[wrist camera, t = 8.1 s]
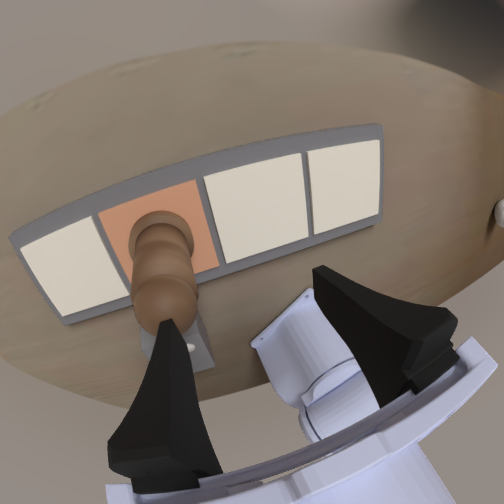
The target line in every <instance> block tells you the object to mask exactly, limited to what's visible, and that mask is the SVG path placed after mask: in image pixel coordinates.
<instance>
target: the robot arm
mask: <svg viewBox="0 0 504 504" xmlns="http://www.w3.org/2000/svg"><path fill="white" fill-rule="evenodd" d="M312 272H313V289H314V290H313V289H312V288H308V289H307V290H305V291H304V292H303V293H302V294H301V295H300V296H299V297H298V298H297V299H296V300H295V301H294V302H293V303H292V304H291V305H290V306H289V307H288V308H287V309H286V310H285V311H284V312H283V313H282V314H281V315H280V316H278V317H277V318H276V319H275V320H274V321H273V322H272V323H271V324H270V325H269V326H268V327H267V328H266V329H264V330H263V331H262V332H261V333H260V334H259V335H258V336H257V337H256V338H255V339H253V340H252V341H251V342H250V345H251V347H253V348H256V350H257V352H258V355H259V357H260V359H261V362H262V364H263V366H264V369H265V371H266V373H267V375H268V378H269V380H270V382H271V384H272V386H273V388H274V390H275V391H276V393H277V394H278V395H279V397H280V398H281V399H282V400H283V401H284V402H285V403H287V404H288V405H290V406H292V407H294V408H298V409H300V410H299V423H300V426H301V429H302V431H303V433H304V434H305V437H306V438H307V440H308V441H309V442H310V444H311V445H308V446H306V447H304V448H301V449H299V450H296V451H294V452H291V453H288V454H286V455H283V456H280V457H278V458H275V459H272V460H269V461H266V462H263V463H260V464H256V465H253V466H250V467H246V468H243V469H239V470H236V471H232V472H228V473H223V471H222V469H221V466H220V464H219V462H218V459H217V457H216V455H215V452H214V449H213V447H212V444H211V442H210V439H209V436H208V433H207V430H206V427H205V424H204V421H203V418H202V415H201V411H200V408H199V404H198V399H197V393H196V387H195V381H194V375H193V368H192V362H191V358H190V354H189V351H188V347H187V344H186V342H185V340H184V339H183V337H182V335H181V333H180V332H179V330H178V328H177V326H176V325H175V323H174V321H173V319H172V318H171V319H168V320H165V321H161V322H160V323H159V327H158V332H157V336H156V340H155V344H154V348H153V351H152V355H151V358H150V361H149V364H148V367H147V370H146V373H145V376H144V379H143V381H142V384H141V386H140V389H139V391H138V393H137V395H136V397H135V399H134V401H133V403H132V405H131V407H130V409H129V411H128V412H127V414H126V416H125V417H124V419H123V421H122V422H121V424H120V426H119V427H118V428H117V430H116V431H115V432H114V434H113V435H112V436H111V438H110V439H109V440H108V446H107V450H108V462H109V468H110V469H111V470H112V471H114V472H116V473H118V474H120V475H123V476H125V477H128V478H131V482H132V484H126V483H124V484H123V483H120V484H106V485H105V488H106V495H107V501H108V504H456V503H455V501H454V499H453V498H452V496H451V495H450V493H449V492H448V490H447V488H446V487H445V485H444V484H443V482H442V480H441V479H440V477H439V476H438V474H437V473H436V471H435V470H434V468H433V467H432V465H431V464H430V462H429V460H428V459H427V457H426V456H425V454H424V453H423V451H422V450H421V448H420V447H419V445H418V444H417V442H419V441H420V440H422V439H423V438H424V437H426V436H427V435H428V434H429V433H431V432H432V431H433V430H434V429H436V428H437V427H438V426H439V425H440V424H442V423H443V422H444V421H445V420H446V419H447V418H449V417H450V416H451V415H452V414H453V413H454V412H455V411H456V410H458V409H459V407H461V406H462V405H463V404H464V403H465V402H466V401H467V400H468V399H469V398H470V397H471V396H472V395H473V394H474V393H475V392H476V391H477V390H478V389H479V388H480V387H481V386H482V385H483V383H484V382H485V381H486V380H487V379H488V378H489V376H490V375H491V374H492V373H493V372H494V370H495V369H496V368H497V367H498V364H497V363H496V362H495V361H494V360H493V359H492V358H491V357H490V356H489V354H488V353H487V352H486V351H485V350H484V349H483V348H482V347H481V346H480V345H479V344H478V342H477V341H476V340H475V339H474V338H473V337H472V336H470V337H469V338H468V339H467V340H466V341H465V342H464V343H462V344H461V345H460V346H459V347H458V348H457V349H456V350H455V351H454V350H453V349H452V347H453V343H452V342H451V341H450V339H451V337H452V335H453V333H454V331H455V329H456V327H457V323H458V319H457V318H456V317H455V316H454V315H453V314H452V313H451V312H450V311H449V310H448V309H447V308H444V307H433V306H425V305H420V304H414V303H410V302H406V301H402V300H398V299H395V298H392V297H389V296H386V295H383V294H380V293H378V292H375V291H373V290H371V289H369V288H366V287H364V286H362V285H360V284H358V283H356V282H354V281H352V280H350V279H348V278H346V277H344V276H343V275H341V274H339V273H337V272H335V271H333V270H332V269H330V268H328V267H326V266H324V265H321V266H319V267H316V268H313V269H312ZM306 295H307V296H306ZM323 456H324V457H325V458H323V459H320V460H318V461H316V462H313V463H311V464H309V465H307V466H304V467H302V468H300V469H298V470H296V471H294V472H293V473H290V474H288V475H285V476H283V477H280V478H278V479H276V480H273V481H270V482H267V483H265V484H263V482H262V481H259V480H262V479H265V478H268V477H271V476H274V475H277V474H280V473H283V472H286V471H289V470H291V469H294V468H297V467H299V466H302V465H304V464H306V463H309V462H311V461H313V460H316V459H318V458H321V457H323ZM255 481H257V482H255Z"/></svg>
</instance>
